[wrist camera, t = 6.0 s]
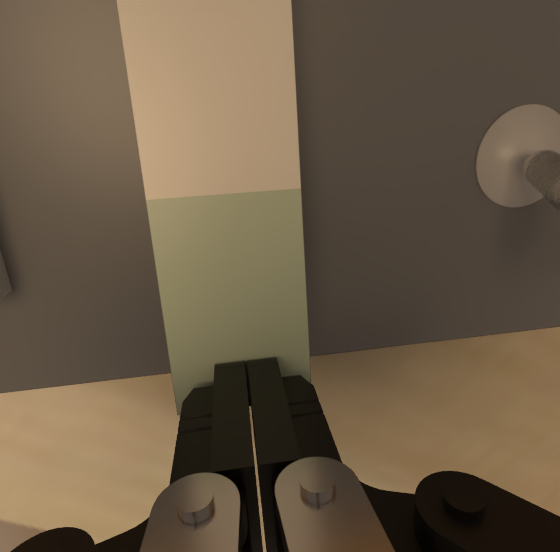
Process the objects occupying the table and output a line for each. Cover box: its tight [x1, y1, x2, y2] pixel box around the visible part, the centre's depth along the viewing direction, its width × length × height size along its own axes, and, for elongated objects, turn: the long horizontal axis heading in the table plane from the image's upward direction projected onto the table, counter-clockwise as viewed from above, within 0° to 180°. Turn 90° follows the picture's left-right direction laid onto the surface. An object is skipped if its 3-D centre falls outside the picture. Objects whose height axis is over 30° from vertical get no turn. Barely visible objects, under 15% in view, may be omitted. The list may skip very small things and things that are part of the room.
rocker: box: [117, 0, 311, 415], centre depth 9 cm, size 10×3×1 cm, turn 3°
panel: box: [0, 0, 560, 393], centre depth 12 cm, size 12×25×4 cm, turn 93°
